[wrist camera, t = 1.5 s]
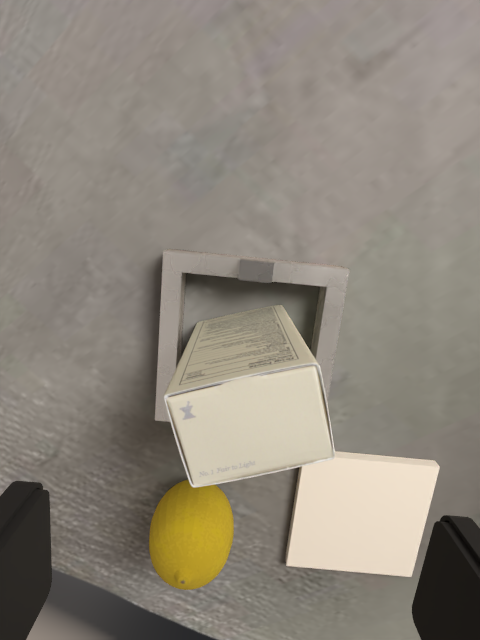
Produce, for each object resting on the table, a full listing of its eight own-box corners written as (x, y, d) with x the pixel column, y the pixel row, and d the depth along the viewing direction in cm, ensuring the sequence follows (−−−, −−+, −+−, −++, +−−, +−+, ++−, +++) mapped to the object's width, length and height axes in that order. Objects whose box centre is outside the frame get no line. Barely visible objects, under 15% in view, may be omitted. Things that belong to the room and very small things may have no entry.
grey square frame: (341, 266, 25) (353, 271, 23) (316, 421, 28) (323, 442, 25) (169, 248, 25) (160, 251, 22) (160, 406, 28) (152, 426, 25)
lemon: (212, 445, 29) (200, 527, 21) (247, 500, 30) (249, 598, 22) (149, 476, 29) (115, 566, 21) (186, 529, 30) (167, 633, 23)
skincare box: (210, 377, 27) (185, 494, 15) (195, 318, 26) (155, 395, 14) (297, 360, 27) (339, 465, 15) (285, 299, 26) (320, 361, 14)
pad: (434, 460, 29) (439, 467, 28) (407, 568, 31) (411, 576, 30) (302, 448, 29) (304, 454, 28) (285, 557, 31) (286, 565, 30)
